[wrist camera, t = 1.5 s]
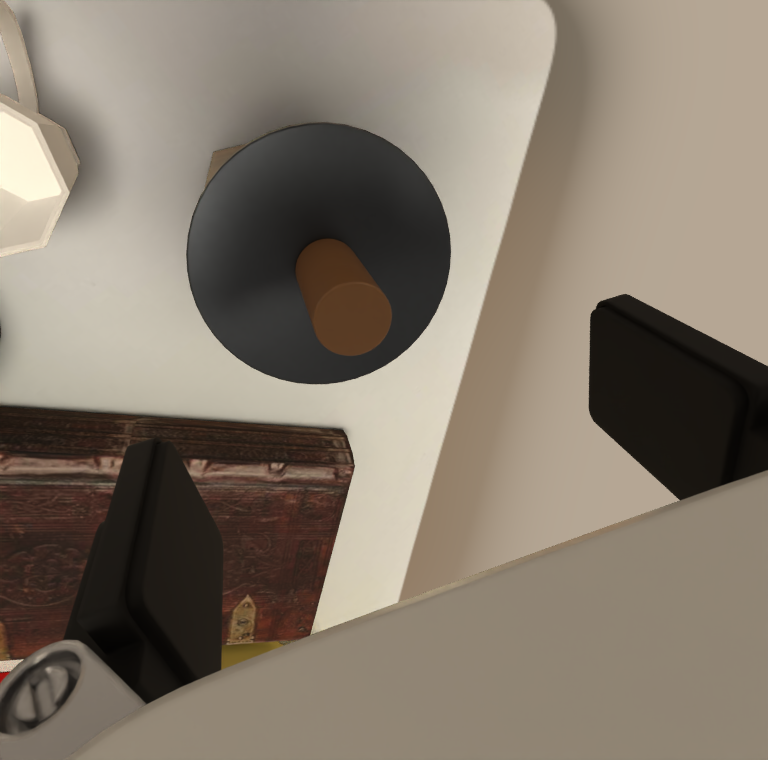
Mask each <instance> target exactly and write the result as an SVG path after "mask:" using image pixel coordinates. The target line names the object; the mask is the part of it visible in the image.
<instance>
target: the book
mask: <svg viewBox="0 0 768 760" xmlns="http://www.w3.org/2000/svg"><path fill="white" fill-rule="evenodd" d="M155 437H158V438H160V439H161V440H162V441H163V442H166V441H171V442H172V443H173V444H174V446H175V448H176V450H177V451H178V453H179V455H180V457H181V459H182V461H183V463H184V465H185V467H186V468H187V470H188V472H189V474H190V476H191V478H192V480H193V482H194V484H195V485H196V487H197V489H198V491H199V493H200V495H201V497H202V499H203V501H204V502H205V504H206V506H207V508H208V510H209V512H210V514H211V516H212V518H213V519H214V521H215V523H216V525H217V527H218V529H219V531H220V534H221V537H222V541H223V604H222V645H233V644H247V643H261V642H275V641H290V640H299V639H302V638H304V637H307V636H310V634H311V630H312V626H313V622H314V619H315V615H316V611H317V607H318V603H319V600H320V596H321V592H322V588H323V585H324V581H325V577H326V573H327V569H328V566H329V562H330V558H331V554H332V551H333V547H334V543H335V539H336V536H337V532H338V528H339V524H340V520H341V517H342V513H343V509H344V505H345V502H346V498H347V494H348V490H349V486H350V483H351V479H352V475H353V471H354V468H355V465H354V459H353V453H352V450H351V447H350V444H349V441H348V438H347V435H346V434H345V432H344V431H343V430H334V429H319V428H305V427H290V426H275V425H261V424H246V423H231V422H217V421H202V420H187V419H173V418H158V417H143V416H129V415H114V414H100V413H85V412H70V411H56V410H41V409H26V408H12V407H0V661H5V660H20V659H26V658H27V657H28V656H30V655H31V654H32V653H34V652H36V651H38V650H39V649H41V648H43V647H45V646H47V645H49V644H52V643H56V642H59V641H63V638H64V635H65V632H66V628H67V625H68V622H69V619H70V615H71V612H72V609H73V605H74V602H75V599H76V596H77V592H78V589H79V586H80V583H81V579H82V576H83V573H84V570H85V566H86V563H87V560H88V556H89V553H90V550H91V547H92V543H93V540H94V537H95V534H96V531H97V529H98V526H99V525H100V524H101V523H102V522H103V521H105V520H106V516H107V513H108V509H109V506H110V502H111V499H112V496H113V492H114V489H115V485H116V482H117V479H118V475H119V472H120V468H121V465H122V461H123V458H124V455H125V451H126V449H127V447H128V446H129V445H132V444H135V443H139V442H142V441H145V440H148V439H152V438H155Z"/></svg>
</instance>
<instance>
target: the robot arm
mask: <svg viewBox="0 0 768 760" xmlns="http://www.w3.org/2000/svg"><path fill="white" fill-rule="evenodd" d="M589 411H590V415H591V417H592V419H593V421H594V422H595V423H596V424H597V425H598V426H599V427H600V428H602V429H603V430H604V431H605V432H606V433H607V434H608V435H609V436H610V437H611V438H613V439H614V440H615V441H616V442H617V443H618V444H619V445H620V446H621V447H622V448H623V449H624V450H626V451H627V452H628V453H629V454H630V455H631V456H632V457H633V458H634V459H636V460H637V461H638V462H639V463H640V464H641V465H642V466H643V467H644V468H645V469H647V471H649V472H650V473H651V474H652V475H653V476H654V477H655V478H656V479H657V480H658V481H660V482H661V483H662V484H663V485H664V486H665V487H666V488H667V489H668V490H669V491H670V492H672V493H673V494H674V495H675V496H676V497H677V498H678V499H679V500H680V501H677V502H675V503H672V504H669V505H666V506H664V507H661V508H658V509H655V510H652V511H650V512H647V513H644V514H641V515H638V516H635V517H633V518H630V519H627V520H624V521H621V522H619V523H616V524H613V525H610V526H607V527H605V528H602V529H599V530H596V531H593V532H591V533H588V534H585V535H582V536H580V537H577V538H574V539H571V540H569V541H566V542H563V543H560V544H557V545H555V546H552V547H549V548H546V549H544V550H541V551H538V552H535V553H533V554H530V555H527V556H524V557H522V558H519V559H516V560H513V561H511V562H508V563H505V564H503V565H500V566H497V567H494V568H491V569H489V570H486V571H483V572H480V573H478V574H475V575H472V576H469V577H467V578H464V579H461V580H458V581H456V582H453V583H450V584H447V585H445V586H442V587H439V588H437V589H434V590H431V591H428V592H426V593H423V594H421V595H418V596H415V597H412V598H410V599H407V600H404V601H401V602H399V603H396V604H393V605H391V606H388V607H385V608H382V609H380V610H377V611H374V612H372V613H369V614H366V615H363V616H361V617H358V618H355V619H353V620H350V621H347V622H345V623H342V624H339V625H336V626H334V627H331V628H328V629H326V630H323V631H320V632H317V633H315V634H312V635H310V636H307V637H304V638H302V639H299V640H297V641H294V642H292V643H289V644H286V645H284V646H281V647H279V648H276V649H273V650H271V651H268V652H266V653H263V654H261V655H258V656H255V657H253V658H250V659H248V660H245V661H242V662H240V663H237V664H235V665H232V666H230V667H227V668H225V669H222V670H221V663H222V604H223V541H222V537H221V534H220V531H219V529H218V527H217V525H216V523H215V521H214V519H213V518H212V516H211V514H210V512H209V510H208V508H207V506H206V504H205V502H204V501H203V499H202V497H201V495H200V493H199V491H198V489H197V487H196V485H195V484H194V482H193V480H192V478H191V476H190V474H189V472H188V470H187V468H186V467H185V465H184V463H183V461H182V459H181V457H180V455H179V453H178V451H177V450H176V448H175V446H174V444H173V443H172V442H171V441H166V442H163V441H162V440H161V439H160V438H158V437H155V438H152V439H148V440H145V441H142V442H139V443H135V444H132V445H129V446H128V447H127V449H126V451H125V455H124V458H123V461H122V465H121V468H120V472H119V475H118V479H117V482H116V485H115V489H114V492H113V496H112V499H111V502H110V506H109V509H108V513H107V516H106V520H105V521H103V522H102V523H101V524H100V525H99V526H98V529H97V531H96V534H95V537H94V540H93V543H92V547H91V550H90V553H89V556H88V560H87V563H86V566H85V570H84V573H83V576H82V579H81V583H80V586H79V589H78V592H77V596H76V599H75V602H74V605H73V609H72V612H71V615H70V619H69V622H68V625H67V628H66V632H65V635H64V638H63V641H59V642H56V643H52V644H49V645H47V646H45V647H43V648H41V649H39V650H38V651H36V652H34V653H32V654H31V655H30V656H28V657H27V658H26V659H24V660H23V661H22V662H20V663H19V664H18V665H17V666H16V667H15V668H14V669H13V670H12V671H11V672H10V673H9V674H8V675H7V676H6V677H5V678H4V679H3V680H2V681H1V683H0V760H768V366H766V365H764V364H762V363H760V362H758V361H756V360H754V359H752V358H750V357H749V356H746V355H745V354H743V353H741V352H739V351H737V350H735V349H733V348H731V347H729V346H727V345H725V344H723V343H721V342H719V341H717V340H715V339H713V338H712V337H710V336H708V335H706V334H704V333H702V332H700V331H698V330H696V329H694V328H692V327H690V326H688V325H686V324H684V323H682V322H680V321H678V320H676V319H674V318H673V317H671V316H669V315H667V314H665V313H663V312H661V311H659V310H657V309H655V308H653V307H651V306H649V305H647V304H645V303H643V302H641V301H639V300H638V299H636V298H634V297H632V296H630V295H627V294H623V295H619V296H616V297H613V298H609V299H606V300H603V301H600V302H599V303H598V304H597V306H596V309H595V310H593V311H592V313H591V317H590V366H589Z"/></svg>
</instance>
